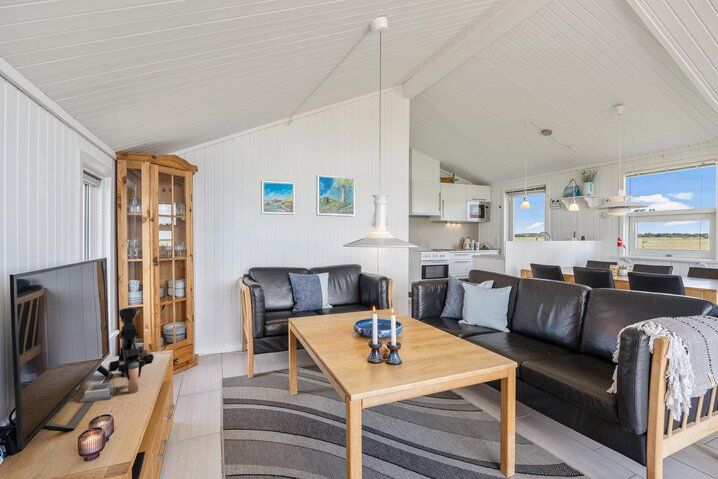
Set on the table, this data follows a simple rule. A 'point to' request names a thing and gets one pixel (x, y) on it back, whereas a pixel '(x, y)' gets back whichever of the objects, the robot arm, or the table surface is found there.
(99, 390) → the socket block
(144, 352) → the lion figurine
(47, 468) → the table surface
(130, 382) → the peg
